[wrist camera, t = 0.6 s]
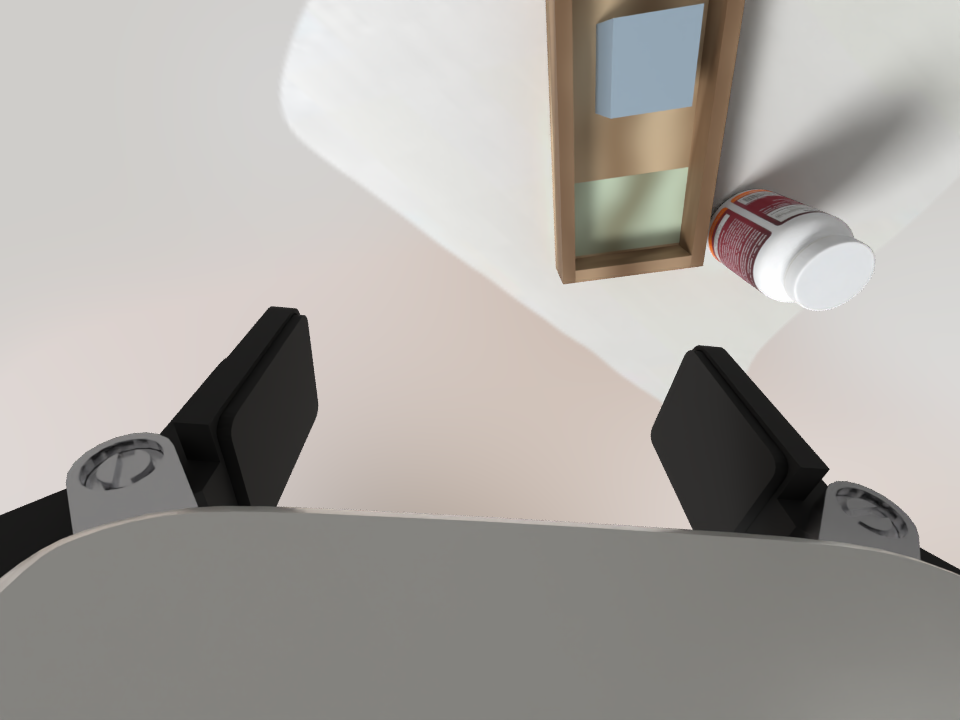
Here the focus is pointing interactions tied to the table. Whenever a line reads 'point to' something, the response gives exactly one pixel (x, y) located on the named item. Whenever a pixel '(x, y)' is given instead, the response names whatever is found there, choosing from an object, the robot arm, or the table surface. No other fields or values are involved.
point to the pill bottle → (790, 250)
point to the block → (647, 61)
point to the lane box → (634, 149)
